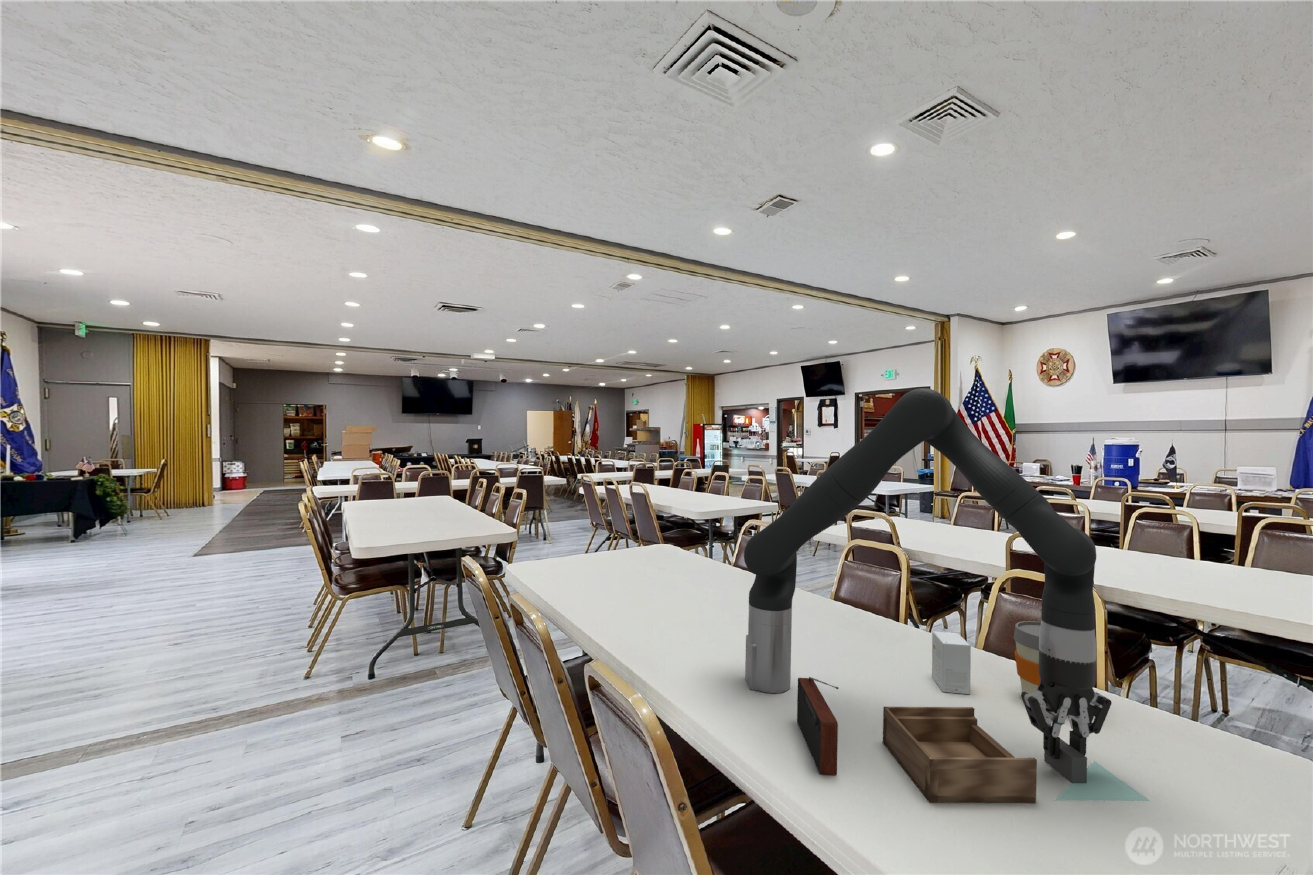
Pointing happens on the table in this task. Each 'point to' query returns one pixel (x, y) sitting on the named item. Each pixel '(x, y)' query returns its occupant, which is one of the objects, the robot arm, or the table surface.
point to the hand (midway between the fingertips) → (1064, 756)
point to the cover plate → (1089, 779)
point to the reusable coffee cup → (1028, 655)
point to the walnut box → (956, 757)
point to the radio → (817, 725)
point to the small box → (951, 662)
